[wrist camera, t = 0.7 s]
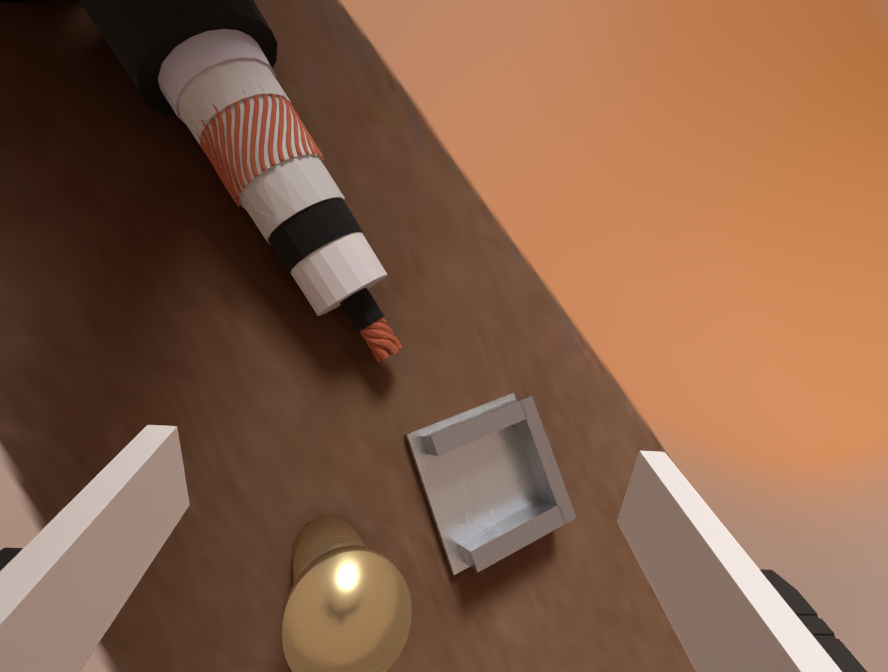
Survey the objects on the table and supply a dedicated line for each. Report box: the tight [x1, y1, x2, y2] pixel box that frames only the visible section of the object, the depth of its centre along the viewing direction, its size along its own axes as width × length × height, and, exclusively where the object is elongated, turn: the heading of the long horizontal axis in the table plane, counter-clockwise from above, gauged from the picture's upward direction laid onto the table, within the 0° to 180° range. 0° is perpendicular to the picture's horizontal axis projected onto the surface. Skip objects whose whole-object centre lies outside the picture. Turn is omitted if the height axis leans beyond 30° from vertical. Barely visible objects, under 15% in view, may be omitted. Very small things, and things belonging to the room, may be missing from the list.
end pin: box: [282, 515, 412, 672], centre depth 25 cm, size 6×6×13 cm
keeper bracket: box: [405, 393, 576, 575], centre depth 35 cm, size 11×10×4 cm
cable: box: [79, 0, 402, 362], centre depth 32 cm, size 10×34×10 cm, turn 33°
